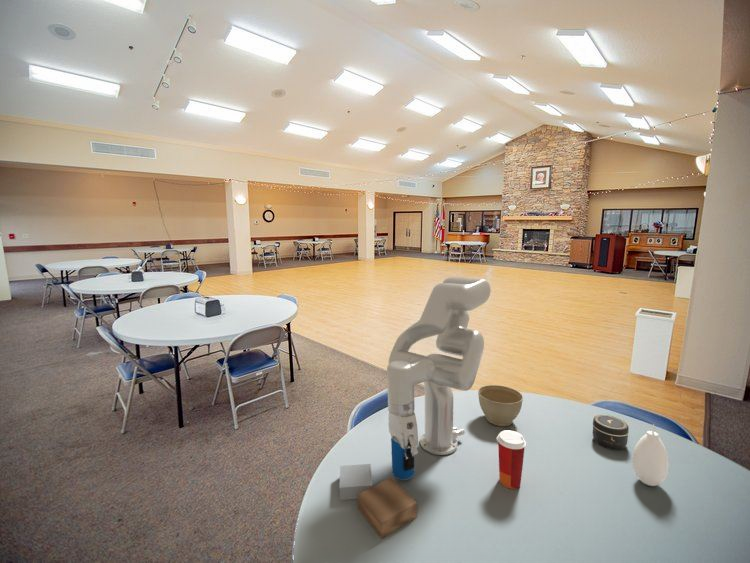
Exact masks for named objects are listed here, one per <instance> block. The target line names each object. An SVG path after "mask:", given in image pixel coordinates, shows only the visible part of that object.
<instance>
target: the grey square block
mask: <svg viewBox="0 0 750 563" xmlns="http://www.w3.org/2000/svg"><path fill="white" fill-rule="evenodd" d="M371 465H372V464H371V463H363V464H349V465H339V486H338V487H339V488H338V490H339V500H340V501H346V500H357V494H359V493H361V492H363V491H365V490H367V489H369V488H371V487H373V476H372V466H371Z"/></svg>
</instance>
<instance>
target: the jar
mask: <svg viewBox="0 0 750 563" xmlns="http://www.w3.org/2000/svg"><path fill="white" fill-rule="evenodd" d="M592 436H593V441H594V442H595V443H597V444H598V445H599V446H600V447H603V448H605V449H608V450H612V451H622V450H624V449H625V448H626V447H627V444H628V442H629V441H628V437H629V424H628V423H627V422H625V421H624V420H623V419H621V418H618V417H616V416H612V415H608V414H598V415H597V414H596V415H595V416H594V417H593V420H592Z"/></svg>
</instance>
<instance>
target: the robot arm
mask: <svg viewBox="0 0 750 563" xmlns="http://www.w3.org/2000/svg"><path fill="white" fill-rule="evenodd" d="M491 290H492V289H491V285H490V283H489V281H488V280H486V279H484V278H478V277H465V276H464V277H460V276H451V277H447V278H445V279H444V280H443V282H441V283H437V284H436V285H435V286H434V287H433V288H432V290H431V292H430V294H429V296H428V297H429V298H428V299H427V302H426V304H425V306H424V308H423V311H422V314H421V316H420V318H419V320H417V321H416V322H414V323H413V324H411V325H410V326H408V328H406V329H405V330H404V331H402V333H401V334H400V335H398V337H397V339H396V341H395V343H394V345H393V347H392V348H391V349H392V350H391V352H390V354H389V358H388V365H387V367H386V382H387V385H386V386H387V407H388V409H387V410H388V432H389V434H390V436H391V438H390V440H391V439H392V437H394V438H395V439H396V440H397V442H399V445H400V447H401V448H403V452H404V456H405V457H403V467H404V471H407V470H410V469H413V468H414V469H415V457H416V456H417V455H418V454H419V450H418V449H417V447H418V445H419V443H420V446H421V447H422V449H423V450H425V451H426V452H427V453H429V454H432V455H439V456H445V455H446V456H447V455H451V454H452V453H454V452H456V451H457V449H458V444H459V443H458V440H457V438H458V436H459V437H460V436H463V435H465V429H464V428H459V429H457V427H456V426H454V400H455V399H454V393H453V390H452V389H454V390H455V389H456V390H458V391H463V392H466V391H469V390H470V389H472V387H473V385H474V383H475V380H476V377H477V373H478V371H479V367H480V364H481V360H482V358H483V355H484V354H483V353H484V349H485V338H484V336H483V335H482V333H481V332H480V331H478V330H476V329H470V328H468V325H469V321H470V315H469V312H470V311H474V310H476V309H478V307H480V306H482V305H483V304H485V303H486V302H488V300H489V298H490V296H491V292H492V291H491ZM435 336H436V339H435V340H436V341H435V345H436V348H437V349H438V350H439V351H441V352H442V353H445V355H444V354H440V353H430V354H427V355H423V354H420V353H419V354H418V353H416V352H412V351H410V349H411V348H412V347H413V345H414V344H416V343H417V342H419V341H421V340H424V339H427V338H431V337H435ZM446 354H448V355H446ZM449 355H454V356H456V357H452V356H449ZM457 356H458V357H462V358H457ZM423 383H424V384H423ZM419 384H423V385H424V433H423V434H422V435H421V436H420V440H419V433H418V432H419V431H418V424H417V423H418V422H417V417H416V413H415V386H417V385H419ZM408 443H409V446H407V445H408ZM409 448H410V450H411V452H409V453H408V454H407V450H406V449H409Z"/></svg>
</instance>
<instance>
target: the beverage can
mask: <svg viewBox="0 0 750 563" xmlns="http://www.w3.org/2000/svg"><path fill="white" fill-rule="evenodd" d="M391 437H392V436H391ZM390 441H391V443H390V444H391V448H390V449H391V468H392V469H391V471H392V475H393V477H395V478H397V479H398V480H401V481H407V480H409V479H411V478H412V477H414V474H415V467H414V468H413V469H410V470H407V471H404V467H403V457H405V456H404V452H403V448H401V447H400V445H399V442H397V440H396V439H395V438H394V437H392V439H391V438H390ZM407 446H409V443H408V445H407ZM406 450H407V454H408V453H409V452H411V450H410V448H409V449H406Z"/></svg>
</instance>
